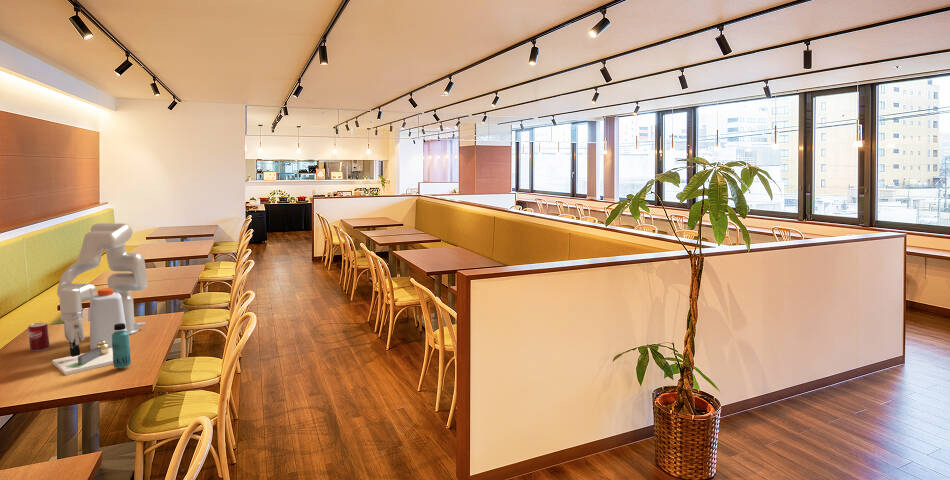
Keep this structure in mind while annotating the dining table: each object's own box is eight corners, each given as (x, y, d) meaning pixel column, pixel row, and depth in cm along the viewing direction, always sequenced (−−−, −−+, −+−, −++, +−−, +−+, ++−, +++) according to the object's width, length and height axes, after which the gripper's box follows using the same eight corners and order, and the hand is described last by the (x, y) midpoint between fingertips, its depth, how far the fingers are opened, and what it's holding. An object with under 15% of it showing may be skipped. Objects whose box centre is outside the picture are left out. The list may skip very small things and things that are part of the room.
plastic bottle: (129, 347, 256) (125, 290, 253) (90, 353, 247) (86, 294, 244) (126, 339, 268) (122, 284, 265) (89, 344, 259) (85, 288, 255)
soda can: (38, 352, 247) (36, 327, 246) (25, 351, 249) (23, 326, 247) (53, 347, 254) (51, 323, 253) (41, 346, 256) (39, 321, 254)
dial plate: (112, 350, 252) (112, 346, 252) (128, 360, 240) (127, 356, 239) (52, 363, 234) (52, 359, 234) (65, 375, 222) (65, 371, 222)
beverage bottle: (118, 366, 233) (115, 321, 230) (134, 365, 234) (131, 321, 231) (110, 371, 227) (106, 326, 224) (126, 371, 227) (123, 326, 224)
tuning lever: (100, 351, 245) (100, 339, 244) (110, 351, 245) (109, 339, 244) (74, 364, 228) (73, 352, 228) (85, 364, 229) (84, 352, 228)
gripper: (87, 317, 232) (90, 357, 234) (76, 310, 241) (80, 349, 243) (66, 320, 226) (70, 362, 228) (56, 314, 235) (60, 353, 238)
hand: (75, 355), depth 236 cm, fingers closed
